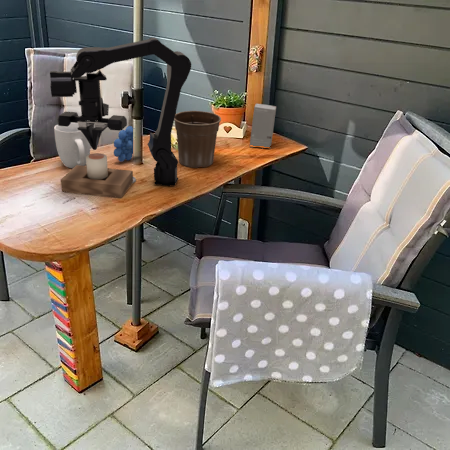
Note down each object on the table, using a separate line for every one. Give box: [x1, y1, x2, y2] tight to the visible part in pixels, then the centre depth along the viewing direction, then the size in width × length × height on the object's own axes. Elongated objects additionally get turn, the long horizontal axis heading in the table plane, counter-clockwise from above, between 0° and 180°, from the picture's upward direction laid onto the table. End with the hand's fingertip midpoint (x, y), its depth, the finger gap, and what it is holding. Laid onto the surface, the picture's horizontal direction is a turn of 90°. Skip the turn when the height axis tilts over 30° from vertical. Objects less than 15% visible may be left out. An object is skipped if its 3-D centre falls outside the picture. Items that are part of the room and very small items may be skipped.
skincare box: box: [249, 103, 277, 148], centre depth 189 cm, size 8×7×16 cm
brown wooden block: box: [60, 165, 134, 199], centre depth 148 cm, size 18×12×4 cm, turn 83°
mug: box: [53, 122, 91, 169], centre depth 159 cm, size 15×11×13 cm
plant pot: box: [174, 110, 222, 169], centre depth 169 cm, size 16×16×16 cm
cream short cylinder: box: [85, 152, 108, 180], centre depth 146 cm, size 6×6×6 cm
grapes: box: [113, 125, 134, 163], centre depth 168 cm, size 12×7×12 cm, turn 140°
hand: (94, 149), depth 144 cm, fingers closed
